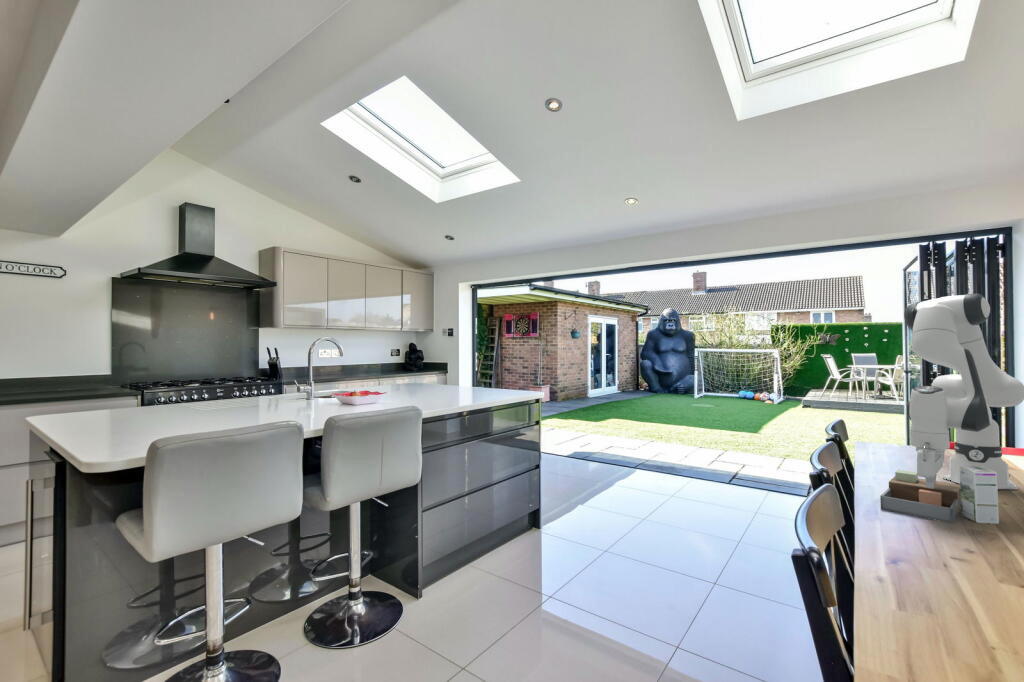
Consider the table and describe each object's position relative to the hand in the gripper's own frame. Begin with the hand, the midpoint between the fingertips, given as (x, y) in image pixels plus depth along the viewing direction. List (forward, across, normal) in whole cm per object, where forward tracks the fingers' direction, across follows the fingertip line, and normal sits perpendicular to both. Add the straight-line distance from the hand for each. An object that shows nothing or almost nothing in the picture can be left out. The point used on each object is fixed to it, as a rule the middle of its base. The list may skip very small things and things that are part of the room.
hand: (931, 487), depth 140 cm
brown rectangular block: (+7, +9, +2) cm, 12 cm away
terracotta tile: (+4, +2, 0) cm, 5 cm away
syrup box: (+7, 0, -10) cm, 13 cm away
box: (+7, -3, +3) cm, 8 cm away
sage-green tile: (+1, +10, +7) cm, 12 cm away
